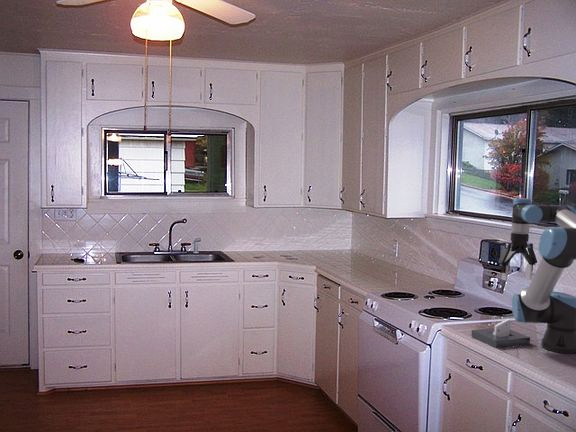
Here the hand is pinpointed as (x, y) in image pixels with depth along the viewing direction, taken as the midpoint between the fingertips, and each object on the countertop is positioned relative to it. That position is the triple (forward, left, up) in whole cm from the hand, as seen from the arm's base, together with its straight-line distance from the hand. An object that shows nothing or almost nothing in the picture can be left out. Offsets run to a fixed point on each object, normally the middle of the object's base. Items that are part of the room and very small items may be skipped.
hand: (516, 279), depth 277 cm
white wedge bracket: (-8, +14, -25) cm, 30 cm away
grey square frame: (-8, +14, -25) cm, 29 cm away
